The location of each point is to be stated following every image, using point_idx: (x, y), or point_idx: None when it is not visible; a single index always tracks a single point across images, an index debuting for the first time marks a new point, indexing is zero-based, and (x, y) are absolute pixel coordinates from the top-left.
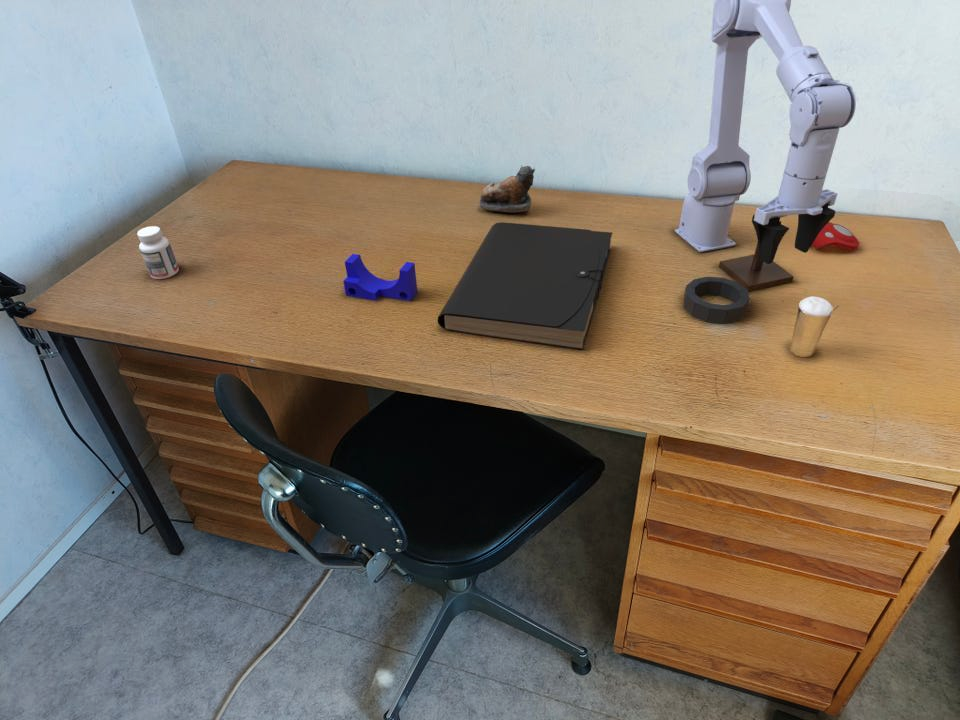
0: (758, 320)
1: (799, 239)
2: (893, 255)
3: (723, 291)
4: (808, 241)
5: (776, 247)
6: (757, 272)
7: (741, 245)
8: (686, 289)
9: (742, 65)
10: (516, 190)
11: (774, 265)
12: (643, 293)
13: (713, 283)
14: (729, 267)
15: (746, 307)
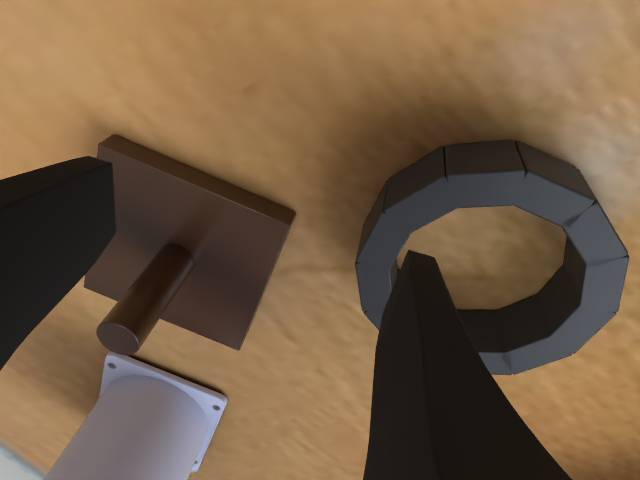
0: (454, 83)
1: (72, 257)
2: None
3: (394, 270)
4: (51, 203)
5: (440, 340)
6: (192, 246)
7: (93, 338)
8: (540, 365)
9: None
10: None
11: None
12: (551, 416)
13: None
14: (245, 318)
15: (462, 159)
